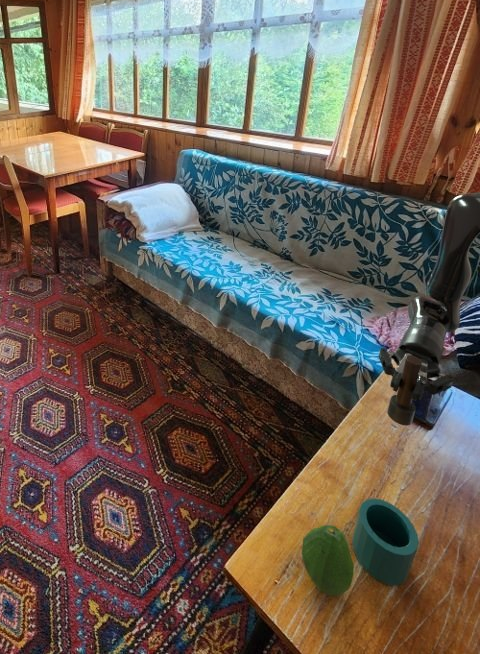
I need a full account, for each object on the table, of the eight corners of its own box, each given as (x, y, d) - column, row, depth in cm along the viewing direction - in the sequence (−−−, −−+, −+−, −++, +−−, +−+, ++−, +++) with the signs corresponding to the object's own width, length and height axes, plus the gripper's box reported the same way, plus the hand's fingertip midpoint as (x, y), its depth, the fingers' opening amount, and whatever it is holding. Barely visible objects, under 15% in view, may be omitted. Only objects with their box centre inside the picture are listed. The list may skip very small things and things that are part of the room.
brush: (405, 409, 82) (420, 352, 77) (416, 427, 78) (432, 369, 73) (383, 406, 83) (396, 350, 78) (392, 424, 79) (407, 366, 74)
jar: (394, 532, 71) (403, 502, 68) (418, 591, 64) (429, 560, 61) (345, 524, 73) (352, 494, 70) (363, 579, 65) (371, 549, 62)
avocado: (353, 572, 66) (363, 531, 62) (343, 620, 61) (353, 578, 57) (306, 539, 72) (312, 498, 67) (293, 580, 66) (299, 538, 62)
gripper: (388, 321, 90) (368, 361, 79) (464, 348, 80) (453, 398, 69) (383, 346, 93) (363, 387, 82) (456, 375, 83) (444, 427, 72)
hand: (405, 392), depth 76 cm, fingers closed on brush, 2 cm apart
